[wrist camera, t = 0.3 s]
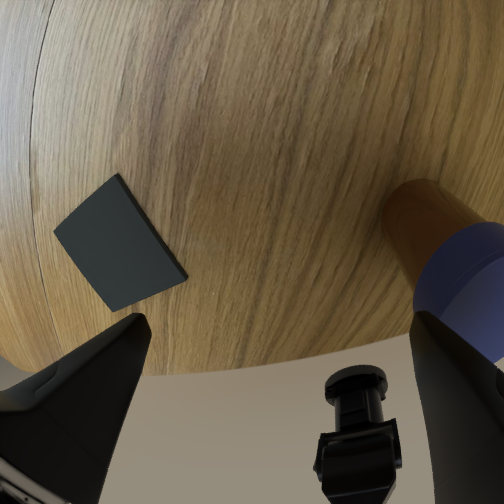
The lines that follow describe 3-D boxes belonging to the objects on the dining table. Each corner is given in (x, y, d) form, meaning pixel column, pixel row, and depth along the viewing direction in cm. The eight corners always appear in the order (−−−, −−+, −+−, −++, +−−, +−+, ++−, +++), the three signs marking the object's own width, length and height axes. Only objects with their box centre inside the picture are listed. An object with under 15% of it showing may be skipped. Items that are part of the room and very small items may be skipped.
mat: (188, 276, 23) (186, 281, 23) (115, 309, 27) (112, 312, 26) (118, 172, 20) (114, 174, 19) (56, 228, 23) (52, 231, 23)
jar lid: (516, 306, 11) (537, 337, 9) (421, 353, 14) (433, 392, 11) (517, 199, 9) (553, 226, 6) (398, 256, 11) (419, 297, 9)
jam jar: (458, 238, 18) (529, 329, 9) (393, 267, 20) (438, 377, 11) (442, 166, 16) (540, 233, 7) (369, 198, 18) (427, 293, 9)
